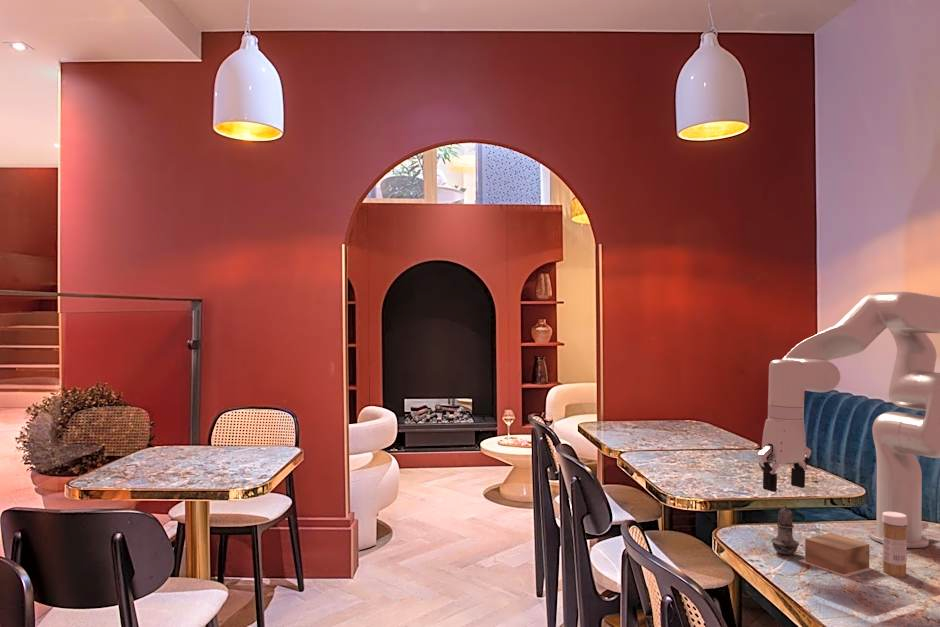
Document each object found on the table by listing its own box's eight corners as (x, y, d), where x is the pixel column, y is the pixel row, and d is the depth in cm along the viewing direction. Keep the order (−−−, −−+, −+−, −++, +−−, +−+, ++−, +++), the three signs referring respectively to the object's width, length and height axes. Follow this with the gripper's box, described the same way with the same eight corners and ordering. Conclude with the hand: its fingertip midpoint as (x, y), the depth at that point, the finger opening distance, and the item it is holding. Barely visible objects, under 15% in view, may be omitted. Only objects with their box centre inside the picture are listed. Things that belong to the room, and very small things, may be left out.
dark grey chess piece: (802, 562, 159) (802, 509, 159) (774, 560, 160) (774, 507, 160) (795, 554, 164) (795, 502, 164) (768, 552, 165) (768, 500, 166)
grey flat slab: (831, 555, 164) (831, 551, 164) (882, 571, 153) (882, 567, 153) (785, 566, 156) (785, 562, 156) (836, 584, 146) (837, 580, 146)
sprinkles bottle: (905, 575, 151) (905, 512, 151) (908, 582, 147) (908, 517, 147) (880, 571, 153) (881, 509, 153) (883, 579, 149) (883, 515, 149)
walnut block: (830, 554, 161) (830, 532, 161) (869, 567, 153) (869, 544, 153) (805, 561, 157) (805, 538, 157) (843, 574, 149) (843, 550, 149)
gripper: (795, 410, 170) (794, 481, 169) (746, 413, 161) (744, 488, 161) (824, 414, 163) (823, 488, 163) (774, 417, 155) (772, 496, 154)
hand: (784, 488), depth 162 cm, fingers open, 9 cm apart
